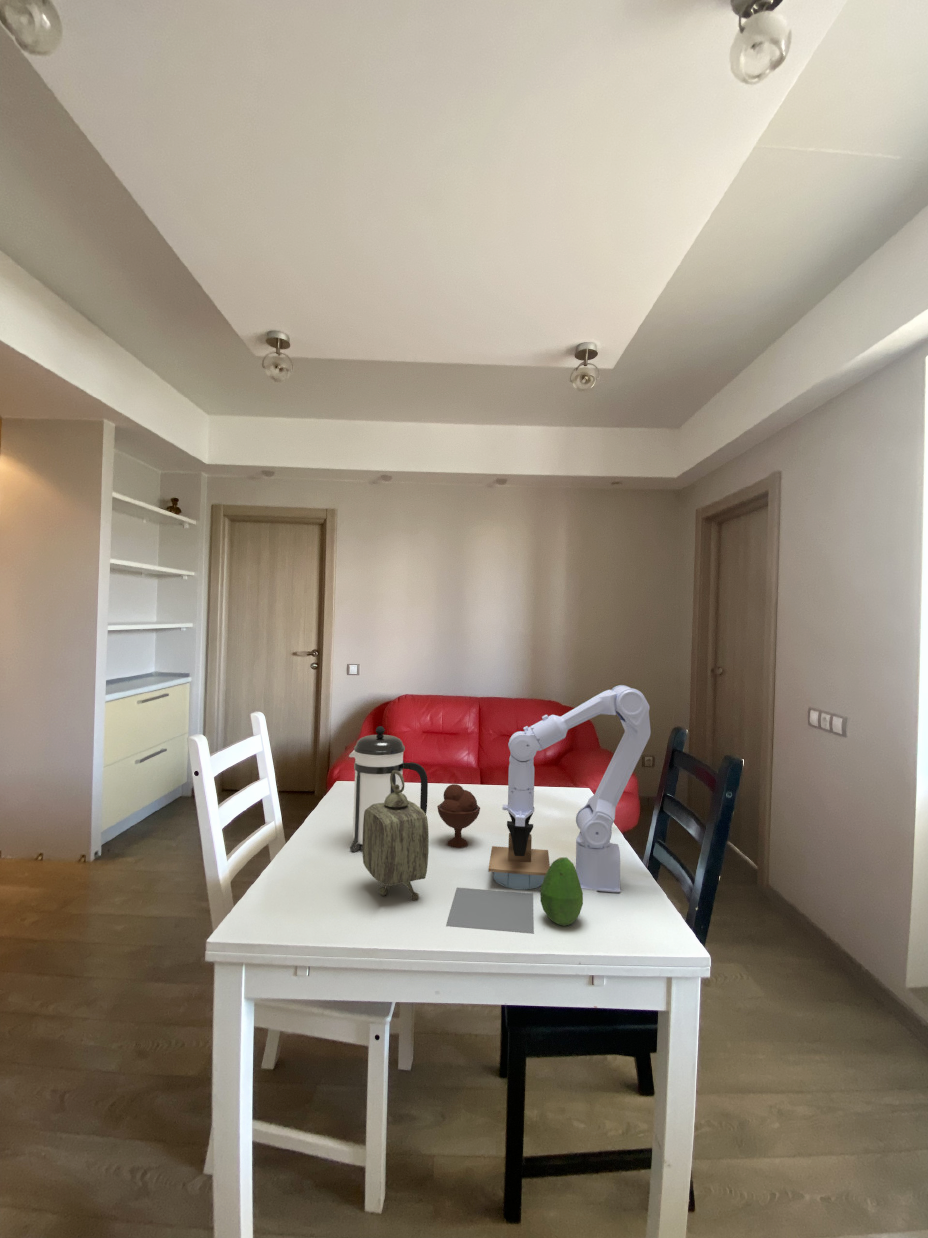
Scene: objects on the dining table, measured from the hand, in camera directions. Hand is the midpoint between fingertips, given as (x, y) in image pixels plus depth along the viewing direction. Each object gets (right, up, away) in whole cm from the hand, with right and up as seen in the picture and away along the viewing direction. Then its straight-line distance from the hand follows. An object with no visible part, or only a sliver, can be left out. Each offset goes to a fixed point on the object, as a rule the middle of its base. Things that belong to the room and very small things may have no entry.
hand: (519, 849), depth 124 cm
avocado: (+6, -7, -18) cm, 21 cm away
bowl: (0, -7, 0) cm, 7 cm away
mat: (-7, -6, -15) cm, 17 cm away
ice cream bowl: (-14, -7, +20) cm, 26 cm away
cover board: (0, -3, 0) cm, 3 cm away
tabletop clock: (-27, -6, -8) cm, 29 cm away
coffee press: (-33, -7, +19) cm, 39 cm away
